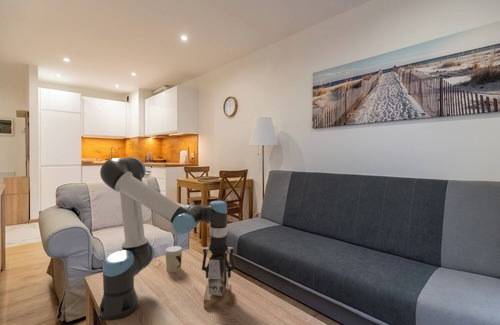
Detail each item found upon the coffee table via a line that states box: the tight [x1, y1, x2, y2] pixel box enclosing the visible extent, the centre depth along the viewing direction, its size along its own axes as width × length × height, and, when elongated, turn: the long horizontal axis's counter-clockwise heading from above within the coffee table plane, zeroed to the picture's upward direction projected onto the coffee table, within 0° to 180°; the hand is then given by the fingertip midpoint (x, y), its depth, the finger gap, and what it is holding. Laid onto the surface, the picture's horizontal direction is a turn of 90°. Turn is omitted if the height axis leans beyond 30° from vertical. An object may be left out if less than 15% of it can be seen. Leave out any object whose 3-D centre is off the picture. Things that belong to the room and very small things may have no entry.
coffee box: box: [208, 251, 228, 296], centre depth 119 cm, size 9×6×16 cm
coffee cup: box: [164, 245, 183, 273], centre depth 149 cm, size 9×9×12 cm
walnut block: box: [203, 284, 233, 309], centre depth 120 cm, size 12×12×4 cm
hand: (218, 284), depth 120 cm, fingers open, 7 cm apart
